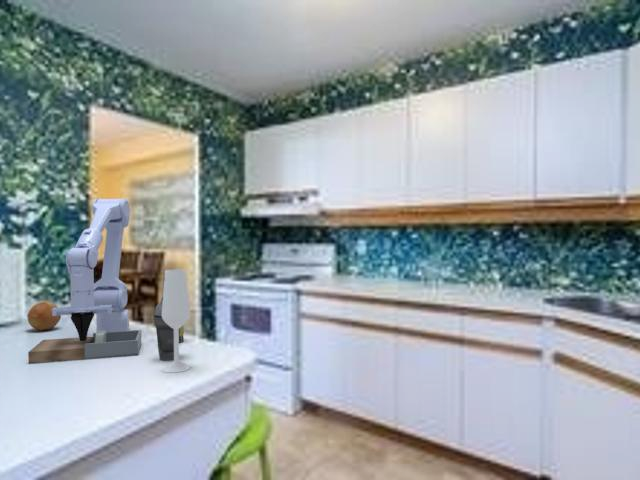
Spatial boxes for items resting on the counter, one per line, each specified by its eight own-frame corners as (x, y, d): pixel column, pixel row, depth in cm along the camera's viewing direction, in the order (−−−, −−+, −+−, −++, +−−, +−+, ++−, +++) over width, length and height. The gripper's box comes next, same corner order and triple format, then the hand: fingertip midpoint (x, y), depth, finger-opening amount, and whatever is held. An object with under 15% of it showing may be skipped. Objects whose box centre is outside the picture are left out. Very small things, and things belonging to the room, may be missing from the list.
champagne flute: (161, 366, 117) (160, 269, 116) (189, 363, 119) (188, 268, 119) (162, 373, 111) (161, 271, 110) (192, 370, 113) (190, 270, 112)
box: (141, 343, 141) (141, 330, 141) (137, 355, 127) (137, 340, 127) (93, 346, 137) (93, 333, 137) (84, 359, 123) (84, 344, 123)
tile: (97, 348, 133) (105, 348, 133) (94, 352, 128) (102, 352, 128) (98, 330, 133) (106, 330, 133) (95, 334, 128) (103, 334, 128)
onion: (29, 328, 163) (28, 300, 163) (62, 326, 167) (61, 298, 167) (25, 334, 154) (24, 303, 154) (59, 331, 158) (59, 301, 158)
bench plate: (93, 346, 137) (93, 336, 137) (84, 359, 123) (84, 347, 123) (43, 350, 133) (43, 339, 133) (28, 363, 120) (28, 352, 120)
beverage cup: (174, 362, 120) (173, 284, 119) (148, 361, 121) (147, 284, 121) (187, 355, 127) (186, 281, 126) (163, 354, 128) (162, 281, 128)
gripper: (49, 294, 123) (50, 345, 124) (109, 291, 128) (109, 341, 128) (55, 290, 130) (56, 339, 130) (112, 288, 134) (113, 335, 135)
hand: (83, 340), depth 130 cm, fingers closed
